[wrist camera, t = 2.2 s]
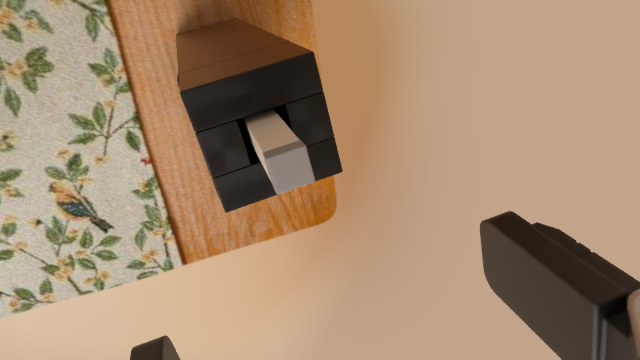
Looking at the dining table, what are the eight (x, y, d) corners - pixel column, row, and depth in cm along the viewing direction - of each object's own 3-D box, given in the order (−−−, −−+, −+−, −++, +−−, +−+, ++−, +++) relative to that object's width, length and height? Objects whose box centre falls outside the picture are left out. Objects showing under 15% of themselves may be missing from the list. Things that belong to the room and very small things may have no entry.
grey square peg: (243, 129, 27) (277, 195, 18) (234, 102, 27) (265, 158, 18) (269, 120, 28) (316, 182, 19) (261, 93, 27) (306, 144, 18)
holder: (197, 95, 50) (225, 213, 23) (175, 35, 47) (179, 91, 21) (254, 77, 51) (343, 171, 24) (236, 18, 48) (313, 51, 22)
